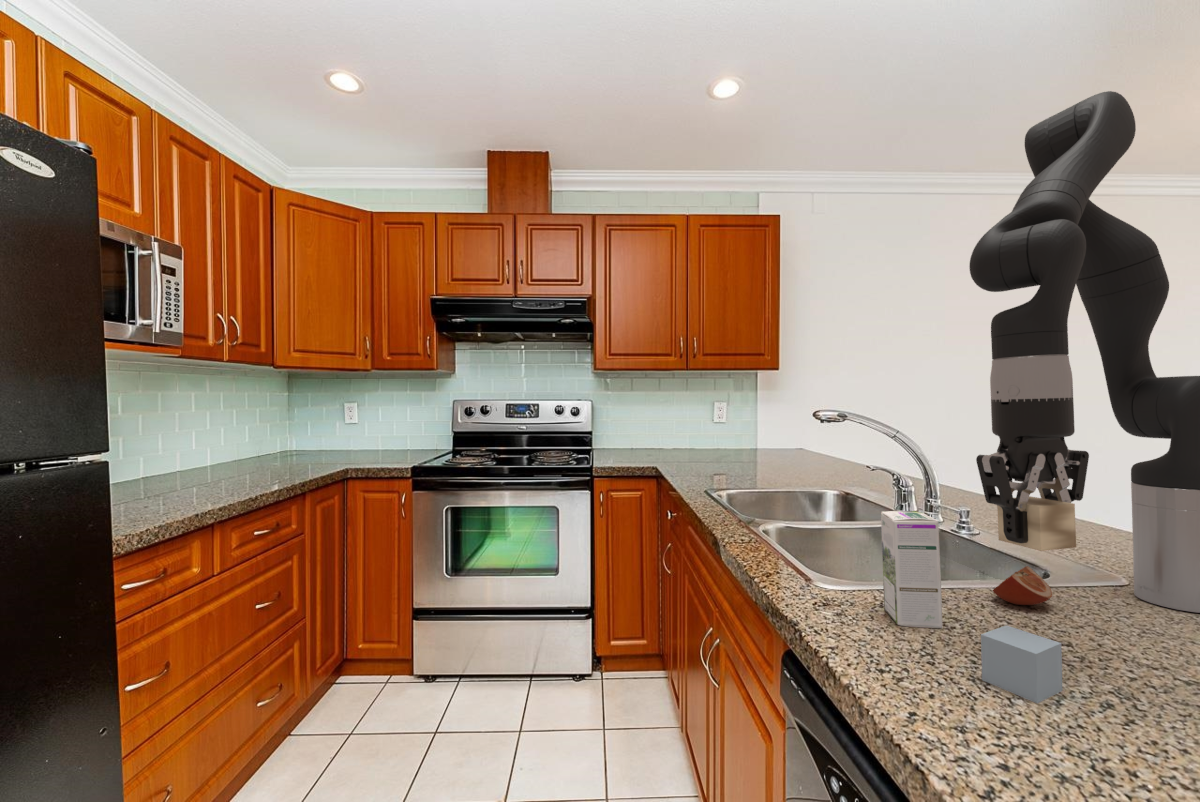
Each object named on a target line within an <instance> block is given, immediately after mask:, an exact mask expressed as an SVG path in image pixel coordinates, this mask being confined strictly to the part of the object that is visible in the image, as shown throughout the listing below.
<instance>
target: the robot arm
mask: <svg viewBox="0 0 1200 802" xmlns="http://www.w3.org/2000/svg"><path fill="white" fill-rule="evenodd" d="M1133 112H1134V111H1133V109H1132V108H1131V106H1130V103H1129V102H1128V101H1127V99H1126V98H1125V97H1124V96H1123V95H1122V94H1120V93H1119V92H1117V91H1112V90H1108V91H1102V92H1099V93H1097V94H1096V93H1095V94H1094V95H1092V96H1090V97H1087V98H1085V99H1083V100H1081V101H1079V102H1077V103H1075V104H1073V105H1071V106H1069V107H1067V108H1065V109H1063V110H1061V111H1059V112H1057V113H1055V114H1053V115H1051V116H1049V117H1047V118H1045V119H1043V120H1042V121H1039V122H1037V123H1036V124H1034V125H1033V126H1031V127H1030V128H1029V129H1028V130H1027V132H1026V134H1025V136H1024V150H1025V151H1024V152H1025V156H1026V159H1027V162H1028V165H1029V167H1030V169H1031V172H1032V174H1033V177H1034V178H1033V179H1032V180H1031V181H1030V182H1029V183H1028V184H1027V185H1026V186H1025V188H1024V189H1023V191H1022V192H1021V194H1020V195H1019V197H1018V198H1017V200H1016V203H1015V205H1014V207H1013V208H1012V209H1011V212H1009V213H1008V214H1007V215H1005V216H1004V217H1003V218H1002V219H1000V220H999V221H998V222H997V223H996V224H994V225H993V226H992V227H991V228H990V229H988V230H987V231H986V232H985V233H984V234H983V235H982V236H981V238H980V239H978V241H977V243H976V244H975V247H974V248H973V250H972V252H971V256H970V259H969V266H968V267H969V274H970V277H971V279H972V280H973V283H975V284H976V286H977V287H979V288H980V289H982V290H983V291H987V292H993V293H999V292H1001V293H1002V292H1008V291H1014V290H1018V289H1019V290H1020V289H1025V288H1030V287H1031V288H1032V287H1037V286H1039V287H1038V288H1037V291H1036V292H1035V294H1034V296H1033V297H1032V298H1030V299H1029V300H1028V301H1026V302H1025V303H1022V304H1020V305H1017V306H1015V307H1012V308H1008V309H1005V310H1003V311H1000V312H998V313H996V314H995V315H994V316H993V317H992V320H991V322H990V339H991V340H990V341H991V359H992V361H991V367H990V368H991V369H990V371H991V372H990V376H989V382H990V383H989V384H990V385H989V386H990V389H989V390H990V407H991V409H990V410H991V411H990V413H991V414H990V416H991V432H992V434H994V435H995V436H997V437H999V444H998V447H997V449H996V452H994V453H990V454H978V455H977V456H976V459H975V460H976V465H977V469H978V474H979V477H980V481H981V485H982V490H983V494H984V498H985V501H986V502H987V503H988V504H991V505H995V506H997V505H998V506H1000V507H1001V508H1002V510H1003V523H1004V524H1003V526H1004V527H1003V529H1004V534H1005V536H1006V538H1007V539H1008V540H1009V541H1013V542H1017V543H1027V542H1028V521H1027V512H1026V511H1025V510H1026V507H1027V503H1028V499H1029V496H1031V494H1033V493H1035V492H1036V489H1038V492H1039V496H1040V498H1043V499H1049V500H1055V501H1061V502H1067V503H1073V502H1074V501H1077V502H1078V501H1079V502H1080V501H1082V500H1083V498H1084V492H1085V487H1086V485H1085V484H1086V480H1087V479H1086V478H1087V471H1088V466H1089V458H1090V454H1089V452H1088V451H1086V450H1078V449H1077V450H1075V449H1069V447H1068V446H1067V443H1066V441H1065V440H1066V439H1065V438H1066V437H1071V436H1073V435H1074V434H1075V412H1074V411H1075V410H1074V409H1075V408H1074V406H1075V405H1074V387H1073V386H1074V385H1073V384H1074V383H1073V371H1072V368H1071V363H1070V358H1069V357H1070V356H1069V333H1068V331H1069V330H1068V327H1069V326H1068V322H1069V314H1070V313H1069V312H1070V307H1071V303H1072V299H1073V295H1074V293H1075V291H1074V290H1075V288H1076V287H1077V288H1076V289H1077V291H1078V293H1079V294H1078V295H1079V296H1080V300H1081V302H1082V304H1083V306H1084V308H1085V311H1086V313H1087V316H1088V320H1089V322H1090V325H1091V328H1092V332H1093V334H1094V338H1095V341H1096V345H1097V348H1098V351H1099V355H1100V357H1101V358H1100V359H1101V363H1102V367H1103V372H1104V378H1105V382H1106V383H1105V384H1106V386H1107V392H1108V396H1109V401H1110V405H1111V408H1112V412H1113V415H1114V417H1115V419H1116V421H1117V423H1118V424H1119V427H1121V429H1123V430H1124V431H1125V432H1126V433H1127V434H1129V435H1131V436H1134V437H1138V438H1146V439H1147V438H1149V439H1165V440H1166V439H1168V440H1169V439H1170V444H1169V449H1168V451H1167V452H1166V453H1164V454H1163V455H1160V456H1159V457H1157V458H1153V459H1150V460H1149V459H1148V460H1145V461H1140V462H1137V463H1135V464H1133V465H1132V467H1131V468H1130V481H1131V482H1130V488H1131V516H1132V517H1131V518H1132V519H1131V520H1132V521H1131V524H1132V562H1133V566H1132V567H1133V569H1132V570H1133V571H1132V572H1133V594H1134V596H1135V597H1136V598H1138V599H1140V600H1142V601H1145V602H1147V603H1151V604H1152V605H1153V604H1154V605H1156V606H1157V605H1158V606H1161V607H1165V608H1169V609H1173V610H1178V611H1184V612H1191V613H1198V614H1200V375H1183V376H1164V377H1163V376H1162V377H1160V376H1159V377H1158V376H1157V375H1156V373H1155V371H1154V369H1153V366H1152V363H1151V358H1150V352H1149V343H1150V339H1151V336H1152V332H1153V331H1154V328H1155V326H1156V324H1157V321H1158V319H1159V317H1160V316H1161V313H1162V310H1163V308H1164V307H1165V304H1166V301H1167V299H1168V296H1169V291H1170V281H1169V277H1168V274H1167V271H1166V268H1165V264H1164V262H1163V260H1162V256H1161V254H1160V251H1159V248H1158V245H1157V244H1156V242H1155V241H1154V240H1153V239H1152V238H1151V237H1150V236H1148V235H1147V234H1146V233H1144V232H1143V231H1142V230H1140V229H1139V228H1136V227H1135V226H1133V225H1131V224H1130V223H1127V222H1126V221H1124V220H1122V219H1120V218H1119V217H1116V216H1115V215H1112V214H1110V213H1109V212H1107V211H1106V210H1103V209H1102V208H1101V207H1100V206H1098V205H1096V204H1095V203H1094V202H1092V200H1090V197H1091V196H1092V194H1093V193H1094V192H1095V190H1096V189H1097V187H1098V186H1099V184H1101V182H1102V181H1103V180H1104V178H1106V177H1107V175H1108V174H1109V173H1110V172H1111V170H1112V169H1113V167H1115V166H1116V164H1117V163H1118V162H1119V161H1120V160H1121V158H1122V157H1123V156H1124V155H1125V153H1127V151H1128V150H1129V149H1130V147H1131V146H1132V144H1133V142H1134V139H1135V136H1136V119H1135V115H1134V113H1133ZM1013 480H1014V481H1013ZM1070 480H1072V484H1071V483H1070ZM1070 485H1072V486H1071V488H1068V487H1070ZM996 488H997V489H998V493H999V494H998V493H997V490H996ZM1052 490H1053V492H1052ZM1015 491H1017V492H1016V497H1014V496H1013V494H1014V492H1015ZM1014 498H1016V499H1014Z"/></svg>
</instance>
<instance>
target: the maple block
mask: <svg viewBox="0 0 1200 802" xmlns="http://www.w3.org/2000/svg"><path fill="white" fill-rule="evenodd" d="M1013 498H1014V499H1016V497H1013ZM996 506H997V526H998V527H997V530H998V535H997V536H998V541H1000V542H1005V543H1008V544H1012V545H1016V546H1020V547H1022V548H1023V547H1024V548H1027V549H1030V550H1031V549H1032V550H1035V551H1039V552H1046V551H1056V550H1065V549H1073V548H1077V534H1076V533H1077V532H1076V531H1077V530H1076V529H1077V528H1076V505H1075V503H1073V502H1071V503H1067V502H1061V501H1055V500H1049V499H1043V498H1041V497H1036V496H1031V495H1029V499H1028V503H1027V507H1026V510H1025V511H1026V512H1027V521H1028V542H1027V543H1017V542H1013V541H1009V540H1008V539H1007V538H1006V536H1005V534H1004V529H1003V527H1004V526H1003V524H1004V523H1003V510H1002V508H1001V507H1000V506H998V505H996Z"/></svg>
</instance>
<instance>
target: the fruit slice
mask: <svg viewBox="0 0 1200 802" xmlns="http://www.w3.org/2000/svg"><path fill="white" fill-rule="evenodd" d="M992 592H993V593H994V594H995V595H996V596H997V597H999V598H1000V599H1001V600H1003V601H1004V602H1007V603H1010V604H1013V605H1018V606H1033V605H1038V604H1039V605H1040V604H1042V603H1045V602H1047V601H1048V600H1049V599H1051V598H1052V597H1053V591H1052V588H1051V587H1050V585H1049V584H1048V583H1047V582H1046V581H1045V580H1044V579H1043V578H1042V576H1040V575H1039V574H1038V573H1036V572H1035V570H1033V568H1031V567H1030V566H1029V565H1027V566H1026V565H1025V566H1024V567H1022V568H1020V569H1019V570H1018V571H1015V572H1014V573H1013V574H1011V575H1009V577H1007V578H1006V579H1004V580H1003V581H1002V582H1001V583H999V584H998V586H996V587H995V588H993V590H992Z"/></svg>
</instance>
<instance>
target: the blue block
mask: <svg viewBox="0 0 1200 802" xmlns="http://www.w3.org/2000/svg"><path fill="white" fill-rule="evenodd" d="M1062 649H1063V648H1062V642H1060V641H1055V640H1053V639H1049V638H1046V637H1044V636H1040V635H1037V634H1035V633H1032V632H1028V631H1025V630H1022V629H1020V628H1016V627H1013V626H1009V625H1003V626H1001V627H997V628H995V629H992V630H990V631H987V632H984V633H981V634H980V653H981V655H980V656H981V681H983V682H985V683H987V684H990V685H992V686H995V687H996V688H1000V689H1001V690H1003V691H1007V692H1009V693H1012V694H1013V695H1015V696H1019V697H1021V698H1023V699H1025V700H1028V701H1030V702H1033V703H1035V704H1040V703H1042V702H1043V701H1045V700H1047V699H1049V698H1051V697H1053V696H1055V695H1057V694H1059V693H1060V692H1063V656H1062V653H1063V652H1062Z"/></svg>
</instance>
